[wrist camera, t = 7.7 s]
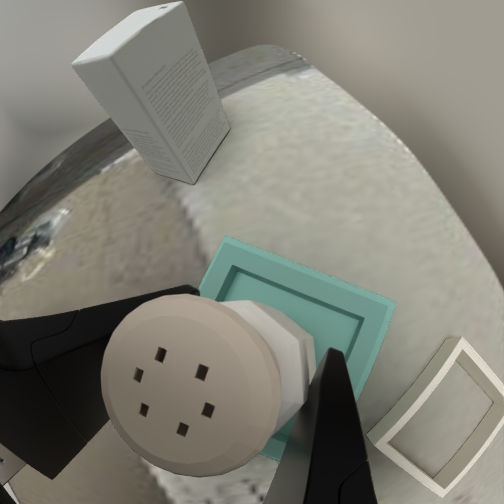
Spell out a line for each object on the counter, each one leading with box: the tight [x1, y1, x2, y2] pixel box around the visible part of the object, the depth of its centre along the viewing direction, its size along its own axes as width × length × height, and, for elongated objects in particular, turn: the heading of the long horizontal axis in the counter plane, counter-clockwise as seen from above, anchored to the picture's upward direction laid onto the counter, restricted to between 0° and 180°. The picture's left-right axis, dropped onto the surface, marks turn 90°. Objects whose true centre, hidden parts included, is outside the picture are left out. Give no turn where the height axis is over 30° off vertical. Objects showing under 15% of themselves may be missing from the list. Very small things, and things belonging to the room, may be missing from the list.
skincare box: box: [71, 1, 230, 184], centre depth 15 cm, size 6×4×12 cm
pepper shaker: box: [101, 294, 316, 477], centre depth 8 cm, size 5×5×11 cm
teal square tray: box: [198, 236, 396, 462], centre depth 14 cm, size 11×11×2 cm
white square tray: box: [366, 337, 504, 498], centre depth 11 cm, size 8×8×2 cm
